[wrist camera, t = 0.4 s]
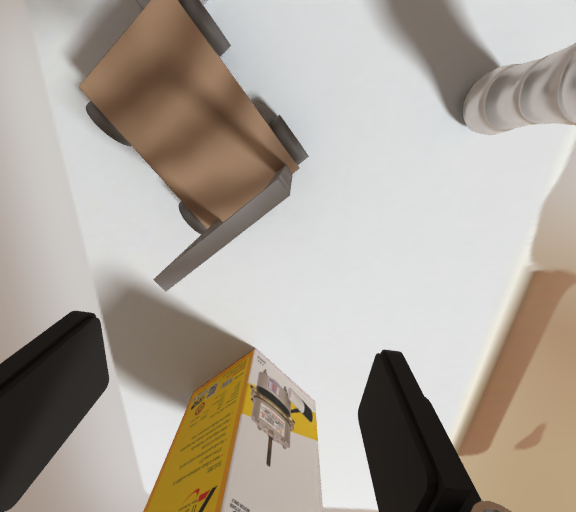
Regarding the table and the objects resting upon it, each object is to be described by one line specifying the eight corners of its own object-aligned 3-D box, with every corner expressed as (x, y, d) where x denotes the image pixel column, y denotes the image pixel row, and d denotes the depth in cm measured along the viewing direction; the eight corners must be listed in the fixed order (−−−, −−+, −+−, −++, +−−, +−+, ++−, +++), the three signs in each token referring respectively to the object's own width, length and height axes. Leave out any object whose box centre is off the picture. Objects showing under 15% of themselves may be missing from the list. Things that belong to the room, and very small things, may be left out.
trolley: (106, 105, 34) (-142, 53, 15) (199, 2, 30) (25, -258, 11) (217, 230, 39) (142, 309, 20) (308, 156, 35) (323, 169, 16)
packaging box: (315, 401, 51) (330, 611, 28) (253, 437, 56) (222, 646, 32) (255, 347, 47) (215, 543, 24) (193, 392, 51) (108, 594, 28)
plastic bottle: (445, 127, 34) (628, 104, 15) (473, 64, 31) (734, -59, 13) (493, 142, 34) (729, 137, 15) (524, 80, 32) (850, -14, 13)
